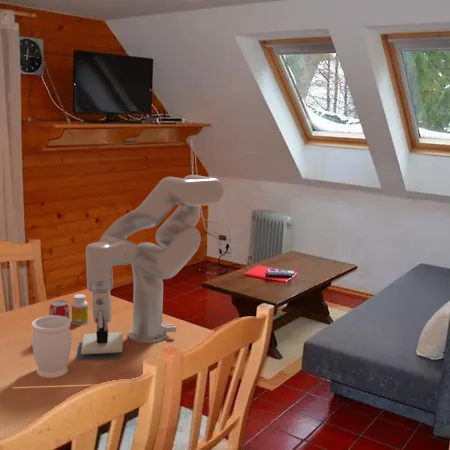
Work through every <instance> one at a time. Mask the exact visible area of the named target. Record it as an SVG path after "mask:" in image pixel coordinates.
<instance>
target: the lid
mask: <svg viewBox="0 0 450 450" xmlns="http://www.w3.org/2000/svg"><path fill="white" fill-rule="evenodd" d="M103 325H104V324H103ZM107 325H108V322H106V330H107V334H108V342H107V343H97V332H96V333H95V332H94V333H84V335H83V339H82V340H83V341H82V342H83V344H82V349H81V354H96V353H113V352H120V353H123V347H124V346H123V344H124V343H123V341H124V340H123V339H124V332H123V331H116V332H109V326H108V327H107Z"/></svg>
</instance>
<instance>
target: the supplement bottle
mask: <svg viewBox="0 0 450 450" xmlns="http://www.w3.org/2000/svg"><path fill="white" fill-rule="evenodd" d="M88 307H89V306H88V301H87V300H86V295H85V294H82V293H78V294H75V295H73V301H72V302H71V324H73V325H76V326H80V325H82V326H83V325H86V324H87V323H88V322H89V320H88V319H89V312H88V311H89V309H88Z"/></svg>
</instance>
